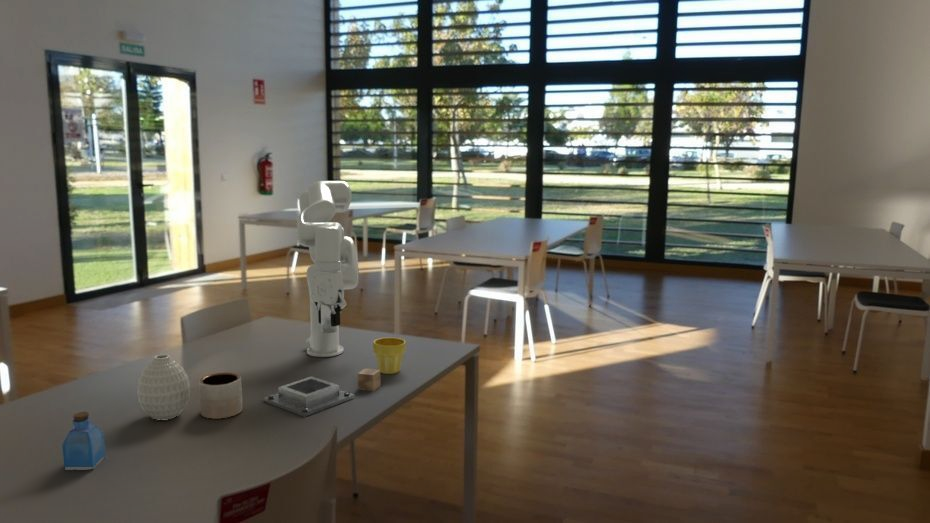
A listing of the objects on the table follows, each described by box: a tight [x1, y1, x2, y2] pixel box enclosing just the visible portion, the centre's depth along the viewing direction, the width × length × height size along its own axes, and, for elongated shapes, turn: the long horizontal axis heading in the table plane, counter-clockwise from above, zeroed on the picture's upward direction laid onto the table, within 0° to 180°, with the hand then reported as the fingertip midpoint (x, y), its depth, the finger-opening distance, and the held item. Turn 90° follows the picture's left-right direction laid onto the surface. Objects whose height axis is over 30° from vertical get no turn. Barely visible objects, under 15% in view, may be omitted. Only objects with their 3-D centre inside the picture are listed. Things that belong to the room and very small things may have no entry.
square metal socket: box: [262, 375, 355, 418], centre depth 198 cm, size 18×18×4 cm
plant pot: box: [372, 336, 407, 375], centre depth 223 cm, size 10×10×10 cm
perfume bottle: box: [61, 411, 106, 468], centre depth 157 cm, size 6×6×12 cm
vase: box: [136, 353, 191, 420], centre depth 184 cm, size 13×13×17 cm
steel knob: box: [319, 300, 338, 333], centre depth 214 cm, size 6×6×10 cm
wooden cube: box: [357, 367, 381, 392], centre depth 208 cm, size 5×5×5 cm
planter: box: [198, 372, 244, 420], centre depth 188 cm, size 11×11×10 cm
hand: (329, 323), depth 214 cm, fingers closed on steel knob, 5 cm apart
